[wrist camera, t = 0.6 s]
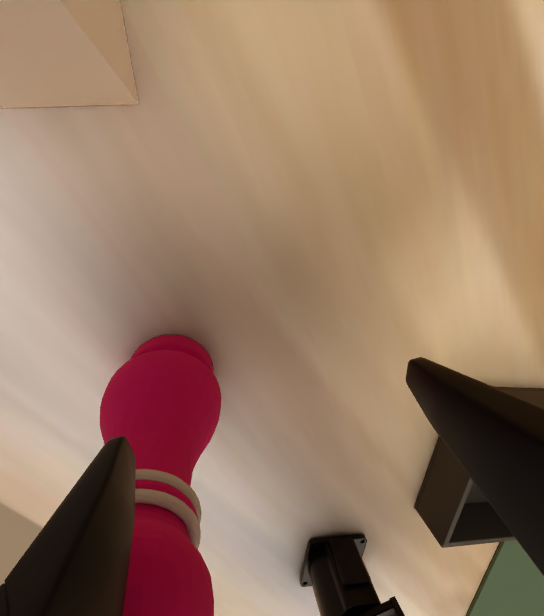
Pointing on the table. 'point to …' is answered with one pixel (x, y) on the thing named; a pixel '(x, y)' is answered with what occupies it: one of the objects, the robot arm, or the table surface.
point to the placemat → (510, 585)
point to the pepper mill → (165, 470)
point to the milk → (64, 54)
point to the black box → (462, 496)
